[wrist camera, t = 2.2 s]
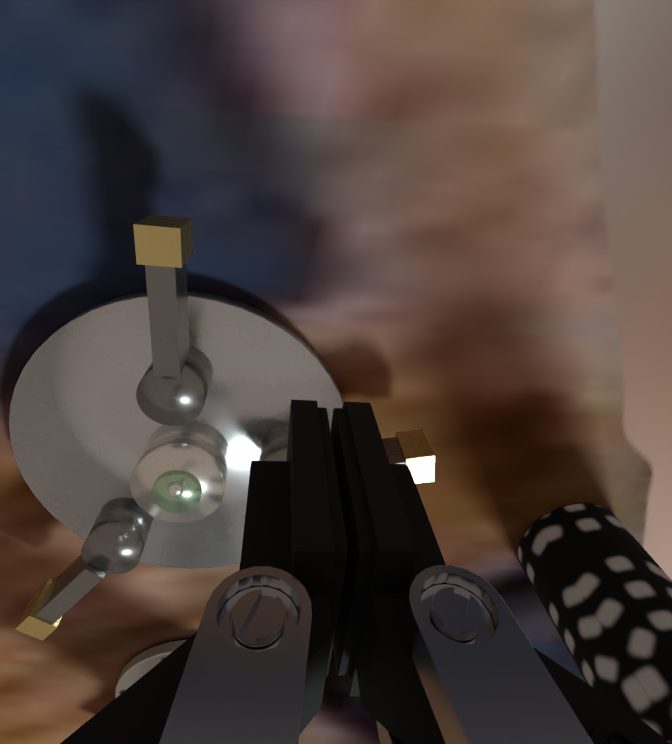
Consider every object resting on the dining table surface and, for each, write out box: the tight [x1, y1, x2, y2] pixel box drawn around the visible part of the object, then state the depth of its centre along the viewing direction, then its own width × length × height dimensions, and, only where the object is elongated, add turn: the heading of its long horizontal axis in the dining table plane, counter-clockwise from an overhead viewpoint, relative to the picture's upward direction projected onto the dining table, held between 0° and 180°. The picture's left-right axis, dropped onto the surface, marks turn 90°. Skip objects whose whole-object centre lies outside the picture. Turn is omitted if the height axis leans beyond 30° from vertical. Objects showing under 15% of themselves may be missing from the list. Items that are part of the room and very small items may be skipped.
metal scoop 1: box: [15, 497, 153, 641], centre depth 28 cm, size 10×3×4 cm, turn 134°
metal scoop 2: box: [133, 215, 213, 426], centre depth 22 cm, size 10×3×4 cm, turn 174°
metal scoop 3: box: [259, 426, 435, 484], centre depth 27 cm, size 10×3×4 cm, turn 94°
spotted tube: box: [518, 503, 672, 741], centre depth 28 cm, size 8×8×20 cm
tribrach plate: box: [9, 291, 344, 568], centre depth 27 cm, size 20×20×5 cm
